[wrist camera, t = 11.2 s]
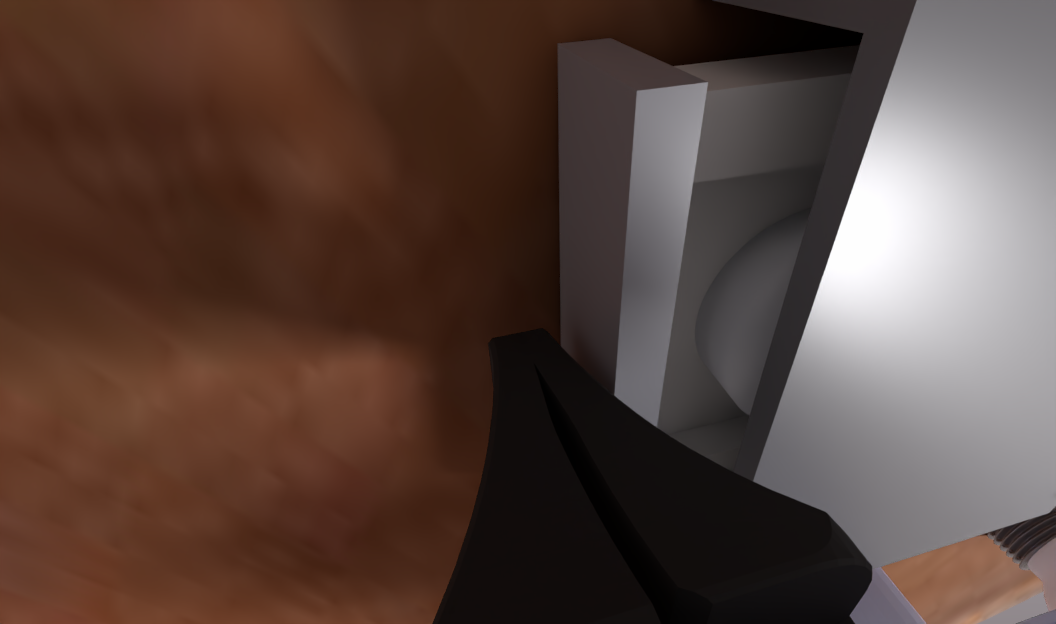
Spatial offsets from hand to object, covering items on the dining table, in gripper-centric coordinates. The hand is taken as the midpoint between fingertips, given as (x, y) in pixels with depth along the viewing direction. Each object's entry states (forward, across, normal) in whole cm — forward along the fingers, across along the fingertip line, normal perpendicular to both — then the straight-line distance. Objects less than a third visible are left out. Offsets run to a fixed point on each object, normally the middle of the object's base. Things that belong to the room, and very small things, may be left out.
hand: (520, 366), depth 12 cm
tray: (+1, -7, 0) cm, 7 cm away
